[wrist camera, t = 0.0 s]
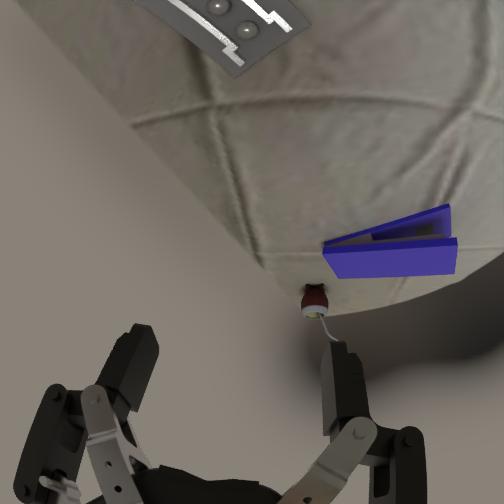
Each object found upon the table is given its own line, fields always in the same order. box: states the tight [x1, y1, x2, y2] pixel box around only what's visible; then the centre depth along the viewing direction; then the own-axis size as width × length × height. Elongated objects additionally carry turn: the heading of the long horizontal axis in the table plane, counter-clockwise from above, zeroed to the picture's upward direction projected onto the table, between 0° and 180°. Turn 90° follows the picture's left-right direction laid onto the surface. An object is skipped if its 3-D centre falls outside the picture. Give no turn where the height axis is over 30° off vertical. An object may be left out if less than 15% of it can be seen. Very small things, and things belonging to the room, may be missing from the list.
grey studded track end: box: [168, 0, 292, 66], centre depth 20 cm, size 13×8×3 cm, turn 42°
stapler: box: [322, 203, 458, 279], centre depth 49 cm, size 12×28×10 cm, turn 124°
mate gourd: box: [301, 283, 338, 341], centre depth 66 cm, size 8×8×15 cm
